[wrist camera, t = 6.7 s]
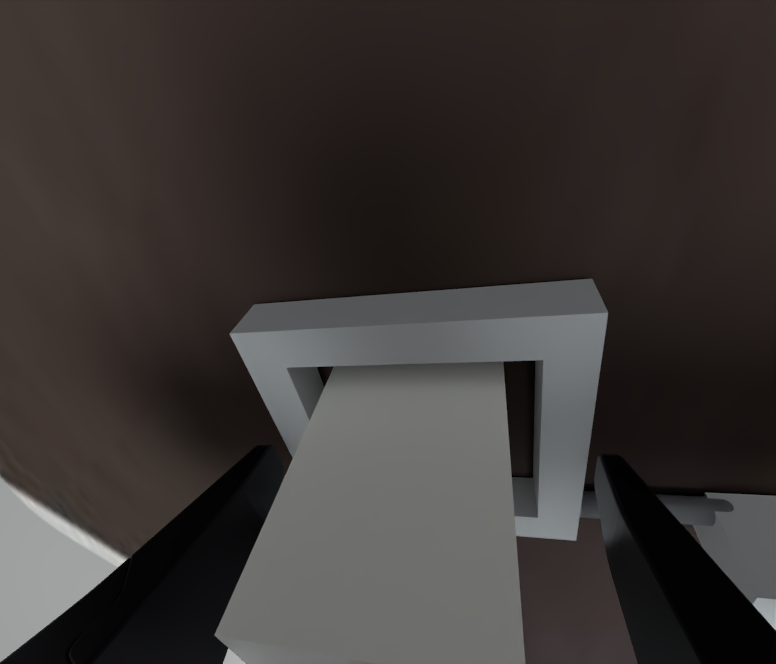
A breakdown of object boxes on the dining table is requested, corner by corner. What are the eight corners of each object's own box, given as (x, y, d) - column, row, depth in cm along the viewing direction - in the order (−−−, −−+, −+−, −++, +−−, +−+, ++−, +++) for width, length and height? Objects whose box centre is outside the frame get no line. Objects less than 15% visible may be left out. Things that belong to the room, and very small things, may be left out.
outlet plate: (568, 499, 12) (576, 540, 11) (335, 487, 14) (324, 520, 13) (592, 278, 8) (608, 313, 7) (254, 304, 10) (229, 333, 9)
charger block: (506, 459, 11) (534, 887, 6) (372, 455, 12) (280, 814, 7) (502, 348, 9) (540, 871, 3) (338, 354, 10) (157, 762, 4)
